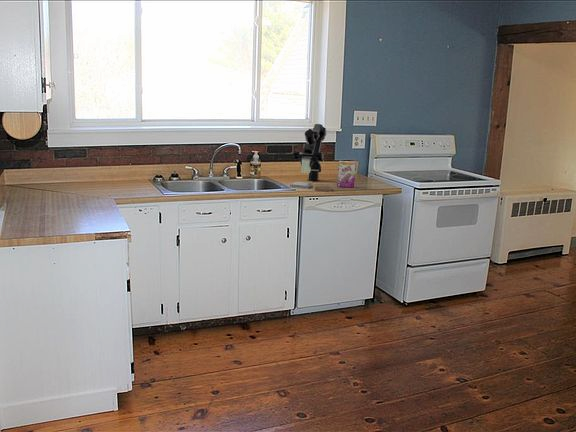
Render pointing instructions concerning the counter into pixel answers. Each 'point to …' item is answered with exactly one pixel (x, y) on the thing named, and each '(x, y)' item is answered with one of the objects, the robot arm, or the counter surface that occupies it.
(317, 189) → the tan flat block
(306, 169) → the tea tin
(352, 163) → the candy bar box
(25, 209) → the counter surface
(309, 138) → the robot arm
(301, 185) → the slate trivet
